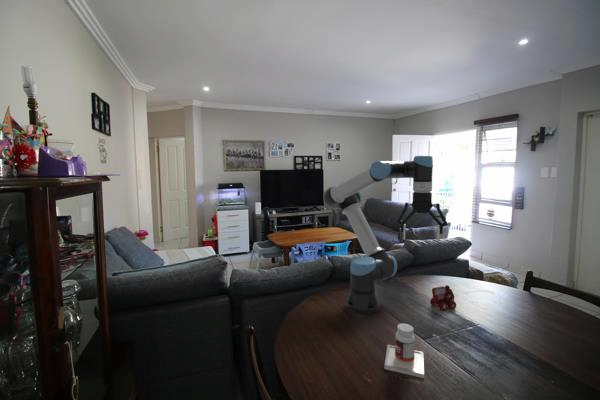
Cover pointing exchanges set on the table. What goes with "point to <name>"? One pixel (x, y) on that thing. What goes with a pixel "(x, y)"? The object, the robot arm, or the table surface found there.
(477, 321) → the table surface
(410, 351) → the pill bottle
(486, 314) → the table surface
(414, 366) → the coaster
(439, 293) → the toy fire truck
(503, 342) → the table surface
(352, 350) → the table surface
